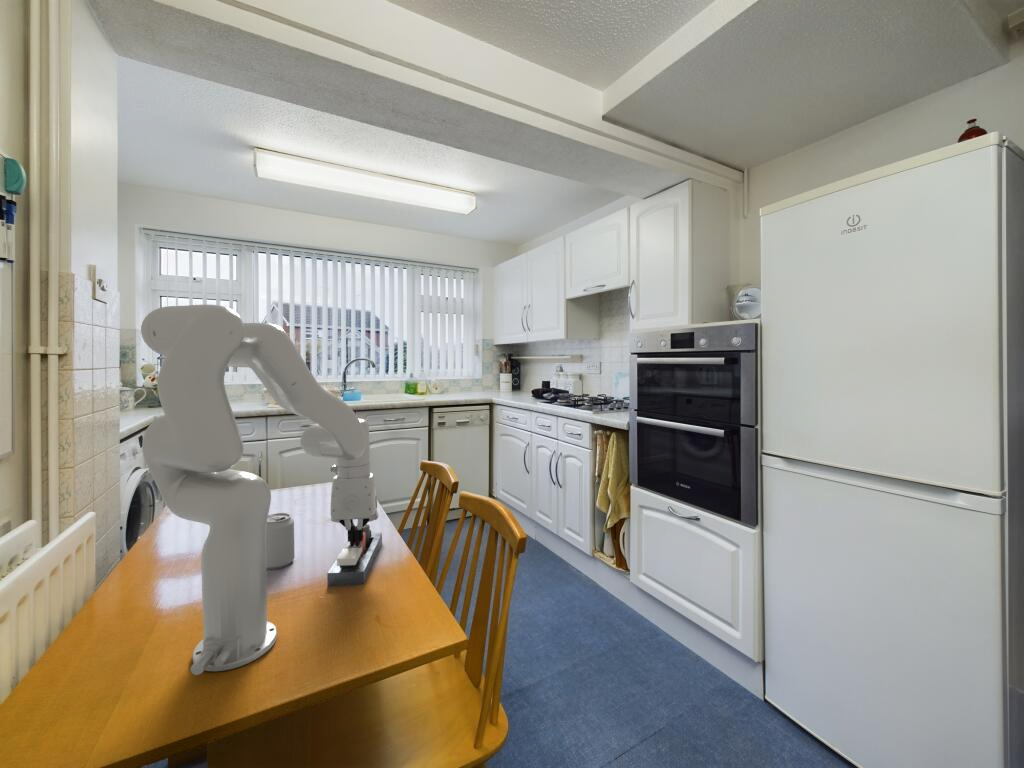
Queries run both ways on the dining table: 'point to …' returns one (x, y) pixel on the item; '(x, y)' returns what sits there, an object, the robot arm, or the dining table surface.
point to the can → (279, 540)
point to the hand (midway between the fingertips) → (355, 543)
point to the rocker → (349, 555)
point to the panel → (355, 572)
